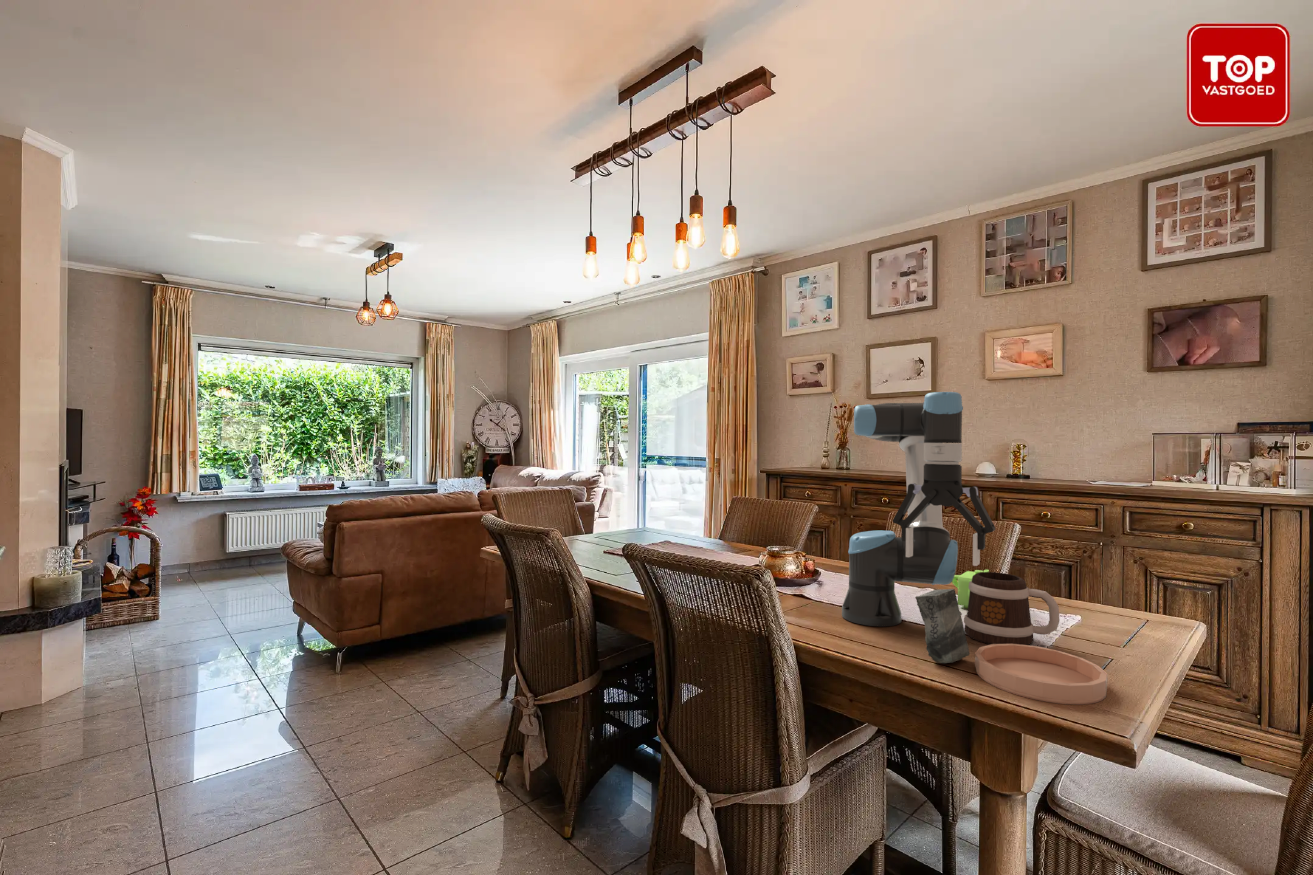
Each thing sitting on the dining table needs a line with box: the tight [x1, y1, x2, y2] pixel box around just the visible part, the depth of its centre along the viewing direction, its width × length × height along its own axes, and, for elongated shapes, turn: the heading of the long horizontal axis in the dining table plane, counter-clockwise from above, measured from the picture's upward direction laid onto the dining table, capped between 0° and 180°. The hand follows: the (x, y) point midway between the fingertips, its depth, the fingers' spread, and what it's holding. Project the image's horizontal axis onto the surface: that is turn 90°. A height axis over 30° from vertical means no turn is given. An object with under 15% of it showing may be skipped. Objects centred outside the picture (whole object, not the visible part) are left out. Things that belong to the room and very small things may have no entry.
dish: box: [974, 644, 1108, 706], centre depth 121 cm, size 22×22×4 cm
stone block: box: [914, 588, 971, 664], centre depth 132 cm, size 9×14×5 cm
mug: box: [963, 571, 1060, 646], centre depth 145 cm, size 20×15×15 cm
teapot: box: [951, 569, 990, 609], centre depth 173 cm, size 15×13×11 cm
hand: (941, 560), depth 131 cm, fingers open, 13 cm apart
